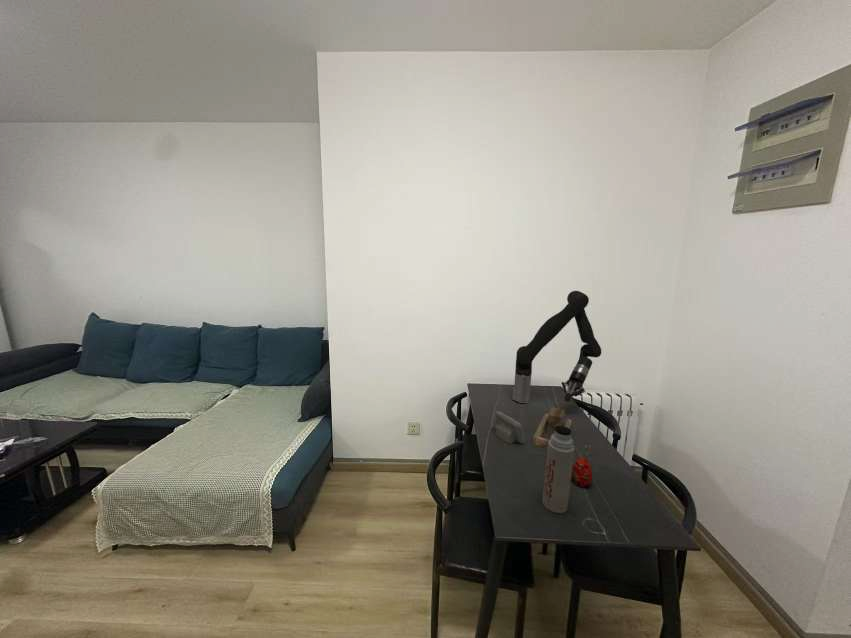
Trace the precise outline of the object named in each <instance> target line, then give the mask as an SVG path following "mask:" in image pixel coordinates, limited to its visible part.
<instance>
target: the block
mask: <svg viewBox="0 0 851 638" xmlns="http://www.w3.org/2000/svg"><path fill="white" fill-rule="evenodd" d="M565 411H566V410H565V409H562V408H558V407H553V406H551V409H550V411H549V413H548V414H549V419H548V423H547V430H546V431H548V433H551V432H552V434H554V433H555V427H556V426H564V421H565Z"/></svg>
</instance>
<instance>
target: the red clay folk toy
mask: <svg viewBox="0 0 851 638" xmlns="http://www.w3.org/2000/svg"><path fill="white" fill-rule="evenodd" d="M584 449H587V451H586V455H585V458H584V459H583V458H582V457H578V458H577V459H576V460H575V462H574V463H573V465H572V473H571V481H573V482H574V484H575V485H576V486H579V488H585V487H589V486H590V485H591V483H592V480H593V471H592V467H591V464H590V463H589V462H588V458H587V457H589V451H590V449H591V444H589V445H588V446H587V445H584Z"/></svg>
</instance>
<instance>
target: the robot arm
mask: <svg viewBox="0 0 851 638" xmlns="http://www.w3.org/2000/svg"><path fill="white" fill-rule="evenodd" d="M589 299H590V298H589V297H588V295H587V294H586V293H584V292H582V291H579V290H573V291H571V292H569V293H568V294H567V298H566V302H567V304H566V305H565V307H563V309H561V310H560V311H559V312H558V313H556V314H554V315H552V316H551V317H550V318H548V319H547V320H546V321H545V322H544V323H543V324H542V325H541V326H540V327H539V329H538V330H537V332H536V333H535V335H534V336H533V338H532V340H531V341H529V343H528V344H527V345H522V346H520V347H519V348H518V349H517V351H516V356H515V372H514V384H513V385H512V395H511V396H512V398H511V399H514V400H515V401H517V402H521V403H526V402H530V395H531V385H532V383H531V382H532V373H533V361H534V360H535V358H536V357H537V355H538V354H539V353H540V352H541V351H542V350H543V348H545V347H547V345H548V344H549V343H550V342H551V341H552V340H553V339H554V338H555V337H557V335H558V334H560V333H561V331H562V330H563V329H564V328H565V327H566V326H567V325H568V324H569V323H570V322H571V321H572V319H575V323H576V327H577V329H578V330H577V331H578V334H579V337H580V341H581V342H582V343H584V344H583V345H582V346H581V347H580V351H579V358H578V361H577V363H576V365H575V366H574V367H573V369H572V371H571V374H569V377H568V379H567V380H566V381H565V382H564V381H562V382H561V386H562V389H563V393H565V395H564V398H563V399H564V402H567V403H568V402H570V401H571V399H572V397H577V396H581V395H582V394H583V393H585V392H586V390H585V388H584V387H583V385H584V383H585V381H586V379H587V378H588V375H589V371H590V370H591V367H592V365H593V361H592V359H591V358H599V357H600V356H601V355H602V347H601V346H600V344H599V342H598V340H597V339H596V337H595V334H594V331H593V327H592V324H591V321H590V320H589V318H588V316H587V313H586V310H585V308H586V307H587V306H588V305H589V301H590V300H589ZM566 387H567V388H566ZM515 401H514V402H515ZM517 402H516V403H517Z"/></svg>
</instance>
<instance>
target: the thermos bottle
mask: <svg viewBox="0 0 851 638" xmlns="http://www.w3.org/2000/svg"><path fill="white" fill-rule="evenodd" d="M571 434H572V430H571V428H570V429H569V428H567V427H565V425H563V426H556V427H555V433H552V435H551V436H550V439H549V442H548V449H547V451H546V452H547V453H546V454H547V455H546V464H545V474H544V481H543V492H542V504H543V506H544V507H545V508H546V509H547V510H549V511H551V512H553V513H557V514H563V513H565V512H567V510H568V506H569V497H570V488H571V487H570V486H571V481H572V480H571V473H572V466H573V464H574V463H573V462H574V456H575V455H574V454H575V445H574V441H573V438H572V437H571Z"/></svg>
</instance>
